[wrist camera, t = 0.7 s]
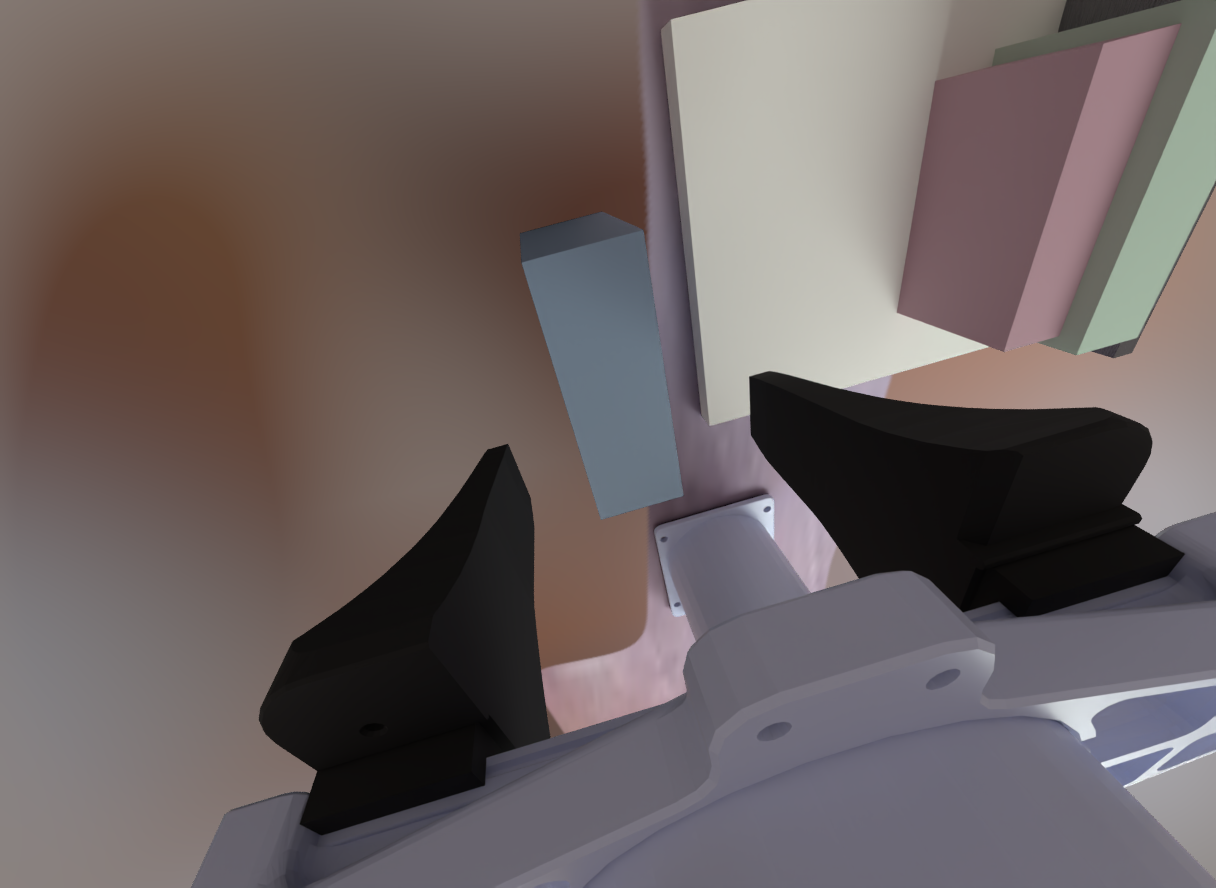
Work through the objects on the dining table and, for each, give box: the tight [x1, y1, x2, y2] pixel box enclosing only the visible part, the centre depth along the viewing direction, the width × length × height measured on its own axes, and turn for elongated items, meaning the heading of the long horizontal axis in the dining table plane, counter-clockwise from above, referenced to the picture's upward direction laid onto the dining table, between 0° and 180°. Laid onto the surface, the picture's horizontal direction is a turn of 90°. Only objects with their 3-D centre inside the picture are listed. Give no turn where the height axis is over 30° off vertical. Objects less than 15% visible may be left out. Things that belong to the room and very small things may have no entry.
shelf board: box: [661, 0, 1066, 426], centre depth 19 cm, size 16×16×1 cm
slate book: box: [520, 212, 684, 520], centre depth 18 cm, size 10×4×7 cm, turn 12°
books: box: [897, 0, 1216, 355], centre depth 16 cm, size 10×5×6 cm, turn 12°
